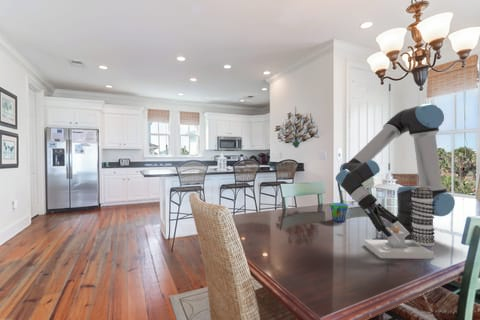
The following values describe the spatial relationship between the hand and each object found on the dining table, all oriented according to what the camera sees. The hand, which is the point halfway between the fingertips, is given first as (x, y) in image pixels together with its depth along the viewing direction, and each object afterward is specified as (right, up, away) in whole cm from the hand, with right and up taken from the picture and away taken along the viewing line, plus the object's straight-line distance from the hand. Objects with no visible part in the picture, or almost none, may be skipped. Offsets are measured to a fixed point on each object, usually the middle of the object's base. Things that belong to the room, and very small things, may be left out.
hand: (402, 239), depth 99 cm
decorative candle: (+17, -6, +12) cm, 21 cm away
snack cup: (-5, -6, +52) cm, 53 cm away
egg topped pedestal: (-1, -5, +2) cm, 6 cm away
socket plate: (-1, -6, +2) cm, 6 cm away
